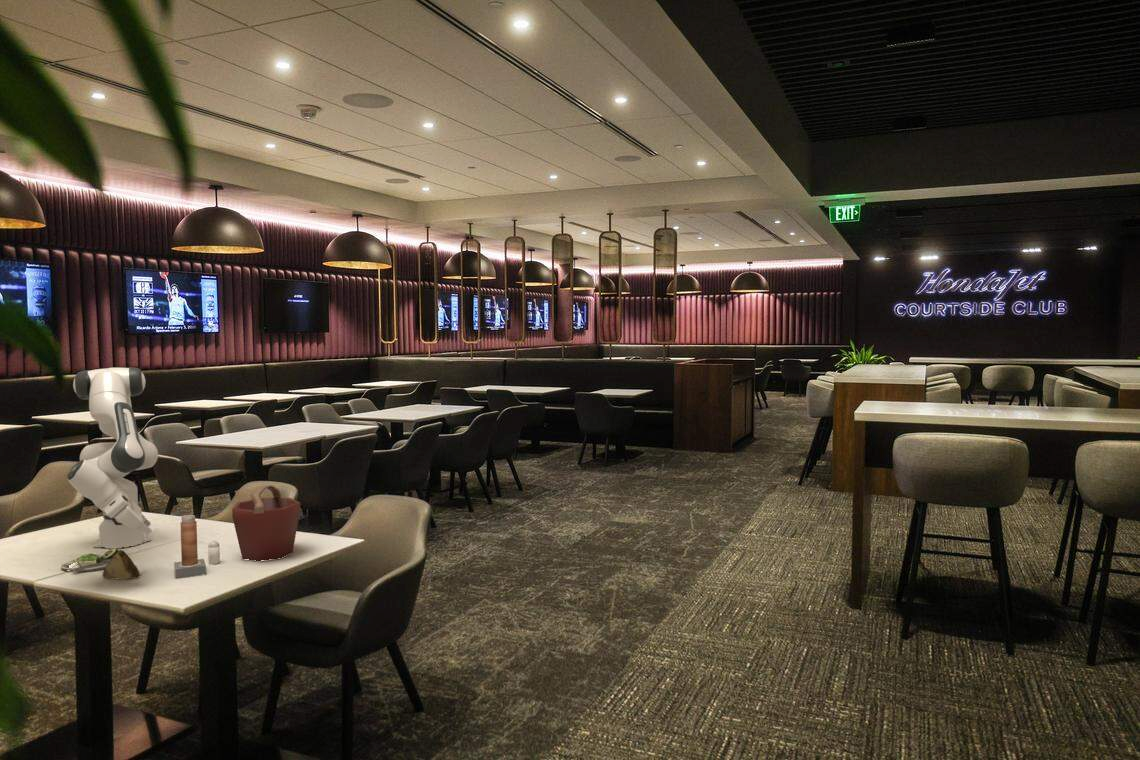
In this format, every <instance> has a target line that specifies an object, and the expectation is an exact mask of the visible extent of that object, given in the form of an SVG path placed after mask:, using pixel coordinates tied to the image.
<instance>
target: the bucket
mask: <svg viewBox="0 0 1140 760" xmlns="http://www.w3.org/2000/svg"><path fill="white" fill-rule="evenodd" d="M266 489H267V490H268V491H271V493H272V494H271V495H272V497H261V495H262V493H263V492H265V490H266ZM250 498H251V500H250V499H249V500H244V501H239V502H238V501H237V502H236V503H235V504H234V506H233V507H232V509H231V510H232V514H231V515H232V520H233V521H232V522H233V525H234V529H235V534H236V538H237V542H238V545H239V551H240V555H241V558H242V560H244V559H249V560H248V561H250V560H256V561H261V560H269V559H277V560H279V559H278V558H282V557H284V556H286V555H288V554H290V553H292V554H293V551H294V545H295V541H296V535H297V531H298V525H299V520H300V516H301V515H300V513H301V502H300V501H298V500H296V499H294V498H291V497H282V493H281V490H280V489H279V488H277V487H276V486H274V485H271V484H270V485H269V484H266V485H265V484H264V485H261V486H258V487H256V488H255V489H254V490H253V491H252V492H251V493H250ZM290 555H291V554H290ZM288 556H289V555H288ZM286 557H287V556H286ZM284 558H285V557H284ZM282 559H283V558H282ZM256 561H255V562H256ZM269 561H270V560H269ZM261 562H262V561H261Z"/></svg>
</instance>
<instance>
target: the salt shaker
mask: <svg viewBox="0 0 1140 760" xmlns="http://www.w3.org/2000/svg"><path fill="white" fill-rule="evenodd" d="M207 554H208V555H207V556H208V559H207V561H208V565H209V564H215V565H218V564H217V563H219V564H220V563H221V557H220V555H221V553H220V543H219V541H216V540H212V541H210V542H209V543H208V546H207Z"/></svg>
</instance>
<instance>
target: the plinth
mask: <svg viewBox="0 0 1140 760" xmlns="http://www.w3.org/2000/svg"><path fill="white" fill-rule="evenodd" d="M173 567H174V568H173V569H174V577H175V579H176V578H177V579H182V578H183V577H184V578H190V576H191V577H196V576H195V575H198V576H203V575H202V574H205V575H207V565H206V562H205V559H204V558H199V559H198V563H197V564H195V565H191V566H183V565H182V561H175V562H174V563H173Z"/></svg>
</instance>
